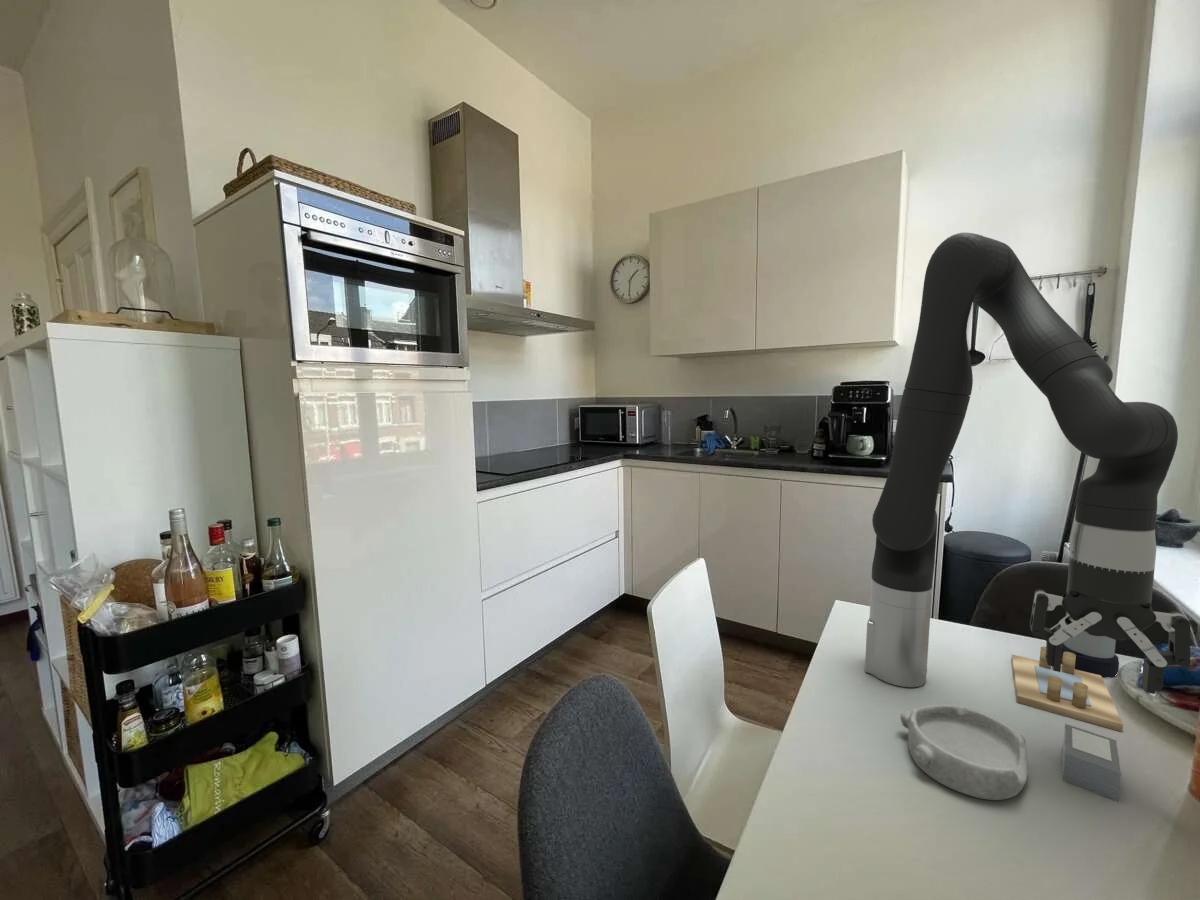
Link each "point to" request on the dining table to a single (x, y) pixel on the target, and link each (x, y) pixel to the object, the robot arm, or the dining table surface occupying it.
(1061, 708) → the wooden peg board
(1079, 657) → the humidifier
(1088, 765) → the block
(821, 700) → the dining table surface
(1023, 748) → the dish
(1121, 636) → the robot arm
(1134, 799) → the dining table surface
